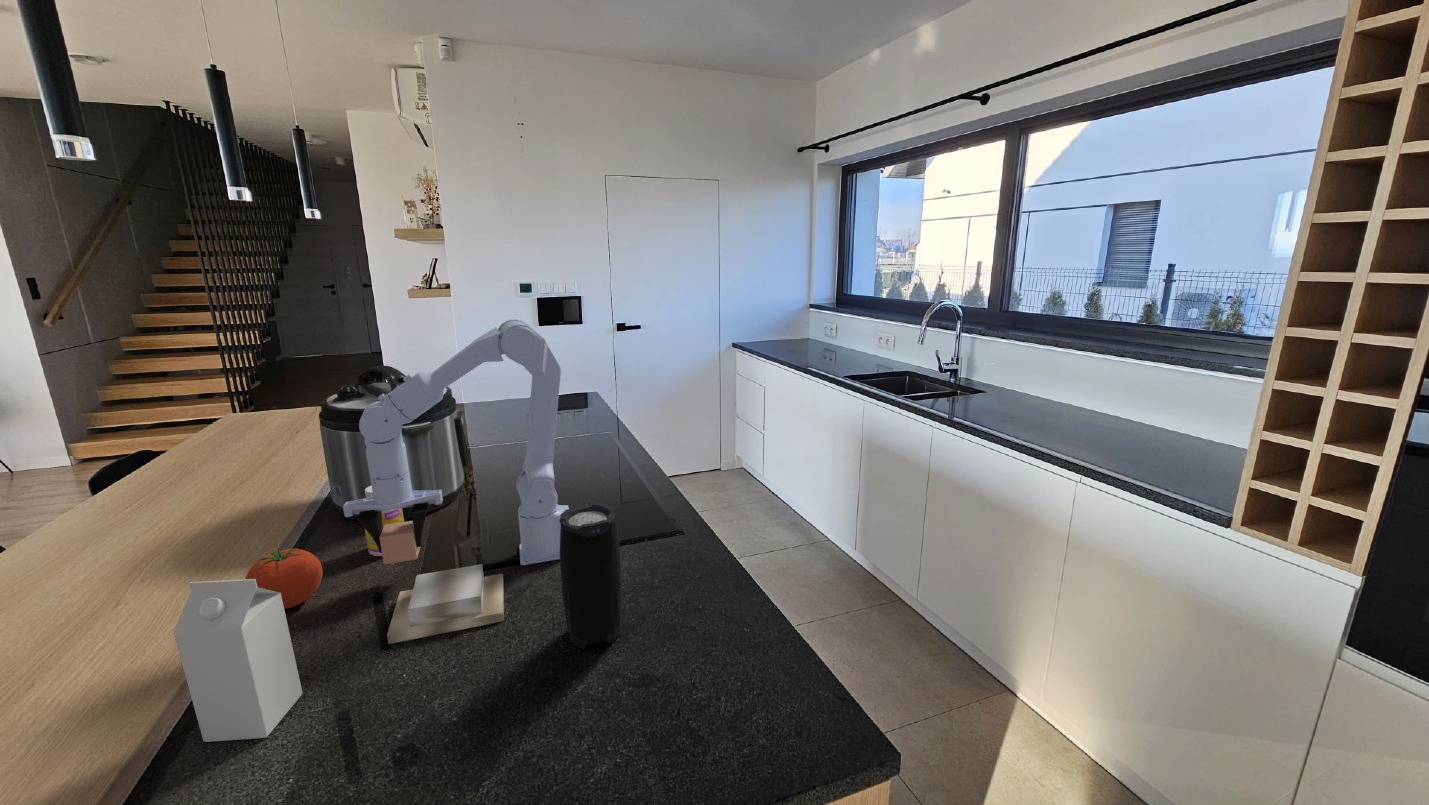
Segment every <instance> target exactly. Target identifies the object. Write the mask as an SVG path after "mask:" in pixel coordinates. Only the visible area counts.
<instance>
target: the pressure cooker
mask: <svg viewBox="0 0 1429 805" xmlns="http://www.w3.org/2000/svg"><path fill="white" fill-rule="evenodd" d="M406 376H407V375H405V374H404V373H403V372H401V371H400V370H399V369H397V368H395V367H393V366H389V365H383V364H382V365H375V366H371V367H369V368H367V369H365V370H364V371H363V372H362V373H361V374H359V376H357V382H355V385H354V384H353V385H352V384H349V385H348V384H346V385H343V386H341V387H340V388H339V389H338V390H337V392H336V393H334V394H331V395H329V396H327V397H325V398H324V399H322V400H321V402H320V410H321V411H319V413H318V420H319V431H320V436H321V442H322V447H323V453H324V454H323V455H324V460H325V461H324V462H325V466H326V472H327V478H328V483H329V488H330V495H331V499H332V502H333V504H334V507H335V508H336V510H337V511H338V512H339V513H340V515H342V516H343V517H345V515H344V509H343V506H344V504H345V503H346V502H349V501H355V500H360V499H364V498H367V497H366V496H365V489H366V488H367V487H369V486H371V479H370V474H369V468H368V462H367V456H366V449H367V448H366V445H365V437H364V436H363V435H362V433H361V432H360V428H359V422H360V418H361V416H362V414H363V412H364V410H365V409H366V407H367V406H368V405H370V404H371V403H373V402H376V401H378V402H379V400H378V397H379V396H380V395H382V394H385V395H387V394H388V393H390V392H391V391H393V390H394V389H395V388H397V387H398V386H400V385H401V384H403V383H404V382H405V381H404V380H403V379H404V377H406ZM385 380H386V381H385ZM401 431H402V438H403V442H404V444H405V447H406V454H407V461H408V467H409V473H410V480H411V486H412V491H429V490H441V491H442V498H443V500H442V504H438V505H435V503H434V504H430V505H429V509H428V512H427V514H428V513H430V512H432V511H436V510H438V509H439V508H442V507H444V506H446V505H448V504H450V502H452V501H454V500H455V499H456V498H457V497H458V496H459V495H460V494H461V491H462V490H463V487H464V486H465V472H464V468H467V467H468V463H469V461H470V455H469V449H468V444H467V438H466V431H465V427H464V419H463V413H462V411H461V410H460V409H458V408H457V401H456V398H455V397H454V396H453V392H452V389H451V388H450V387H449V386H447V387H446V388H444V391H443V399H442V400H441V401H440V402H438V403H437V404H435V405H434V406H433V407H431V408H430V409H428V410H427V411H426V412H424V413H423V414H421V415H420V416H419V417H417V418H416V419H414V420H413V421H412V422H410V423H406V424H403V425H402V428H401ZM412 509H413V506H412V507H405V508H402V510H403V518H404V519H410V518H412V517H411V511H412ZM347 518H348V519H350V520H354V521H359V519H360V514H354V515H353V516H350V517H347Z"/></svg>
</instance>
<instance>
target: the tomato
mask: <svg viewBox="0 0 1429 805" xmlns="http://www.w3.org/2000/svg"><path fill="white" fill-rule="evenodd" d="M323 572H324V570H323V567H322V562H321V561H320V560H319V559H318V557H317V556H316V555H314V554H313V553H312V552H310V551H307V550H304V549H301V548H300V549H299V548H298V547H296V548H288V549H286V548H285V549H282V550H280V548H277V550H273V552H271V553H269V554H267V555H264V556H263V557H262V558H259V559H257V560H256V561H255V563H254V564H253V565H252V566H251V567H250V568H249V570H248V572H247V574H246V576H245V578H244V580H245V579H256V584H257V587H258V588H262V589H266V590H271V591H275V592H279V593H281V597H282V601H283V606H284V610H285V609H289V608H293V607H295V606H298V605H301V604H302V603H303V602H305V601H306V600H308V599H309V598H311V597H312V595H313V594H315V592H316V591H317V590H318V589H319V587H320V585H321V583H322V578H323V575H324V574H323Z"/></svg>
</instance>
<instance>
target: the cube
mask: <svg viewBox="0 0 1429 805" xmlns="http://www.w3.org/2000/svg"><path fill="white" fill-rule="evenodd" d="M379 538H380V544H381V550H382V556H381V557H382V561H383V565H389V564H390V565H391V564H395V563H403V562H407V561H408V562H409V561H415V560H418V557H419V554H420V549H421V547H417V545H416V539H415V529H414V525H413V520H409V521H404V522H399V523H392V524H385V526H384V528H383V530H382V533H381V535H380V537H379Z"/></svg>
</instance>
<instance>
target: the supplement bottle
mask: <svg viewBox="0 0 1429 805" xmlns="http://www.w3.org/2000/svg"><path fill="white" fill-rule="evenodd" d="M365 496H366V497H367V498H368V497H372V496H373V491H372V485H371V486H369V487H367V488H366V489H365ZM381 513H382V524H383V528H384V526H385V524H392V523H399V522H405V518H403V510H402V508H398V509H390V510H383V511H381ZM364 532H365V533H364V534H365V538H366V546H367V550H368V553H369V554H370V555H371V556H374V557H375V556H376V557H383V556H382V553H380V552H379V549H378V547H377V545H376V543H375V541H374V540H373V538H372V537H371V535H370V534H369V533H368V532H367V531H366V529H365V528H364Z"/></svg>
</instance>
